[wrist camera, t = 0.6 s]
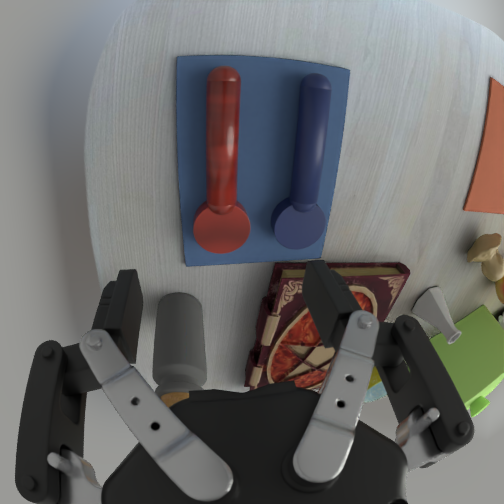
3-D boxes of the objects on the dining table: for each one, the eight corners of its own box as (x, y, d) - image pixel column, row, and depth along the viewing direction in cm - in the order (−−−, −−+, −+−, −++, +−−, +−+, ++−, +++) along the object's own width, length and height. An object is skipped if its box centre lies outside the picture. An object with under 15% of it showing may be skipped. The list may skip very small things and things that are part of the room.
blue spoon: (282, 69, 21) (291, 68, 19) (338, 77, 22) (352, 78, 20) (268, 242, 31) (274, 256, 29) (315, 239, 32) (324, 253, 30)
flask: (405, 313, 46) (432, 353, 38) (428, 283, 42) (459, 322, 34) (425, 315, 48) (450, 351, 40) (446, 287, 45) (475, 323, 37)
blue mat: (177, 56, 19) (177, 56, 19) (348, 69, 22) (350, 69, 22) (186, 264, 32) (185, 266, 31) (319, 256, 34) (320, 258, 34)
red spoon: (190, 67, 20) (189, 65, 18) (255, 67, 21) (261, 65, 19) (194, 245, 30) (195, 261, 28) (246, 243, 31) (251, 258, 29)
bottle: (174, 284, 33) (170, 398, 21) (211, 305, 36) (223, 413, 24) (149, 311, 35) (140, 416, 23) (185, 329, 38) (189, 429, 26)
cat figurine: (503, 238, 32) (520, 275, 34) (487, 215, 37) (507, 252, 39) (469, 266, 37) (490, 298, 39) (457, 241, 42) (479, 274, 45)
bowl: (384, 374, 60) (394, 393, 55) (343, 386, 58) (352, 408, 53) (401, 346, 53) (413, 368, 48) (357, 359, 52) (369, 384, 47)
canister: (483, 304, 54) (529, 366, 35) (464, 346, 67) (498, 399, 48) (412, 348, 55) (456, 427, 37) (402, 383, 68) (432, 445, 49)
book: (339, 370, 54) (347, 389, 50) (239, 384, 49) (244, 407, 45) (400, 260, 38) (419, 281, 34) (267, 260, 33) (279, 288, 29)
